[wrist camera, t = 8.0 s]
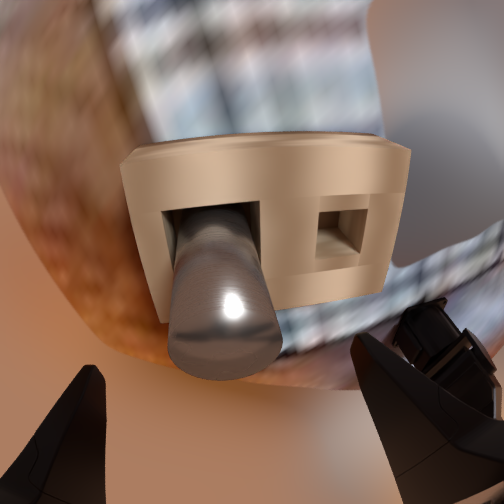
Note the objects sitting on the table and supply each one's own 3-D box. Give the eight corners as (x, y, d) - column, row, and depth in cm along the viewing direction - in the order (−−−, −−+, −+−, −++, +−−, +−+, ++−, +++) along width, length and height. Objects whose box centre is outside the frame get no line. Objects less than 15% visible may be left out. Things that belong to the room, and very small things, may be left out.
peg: (243, 186, 17) (285, 301, 9) (246, 243, 19) (279, 373, 11) (176, 193, 17) (154, 315, 8) (185, 250, 19) (181, 384, 10)
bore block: (371, 133, 17) (411, 150, 14) (355, 257, 23) (381, 291, 19) (139, 145, 16) (119, 164, 12) (165, 280, 21) (160, 323, 17)
